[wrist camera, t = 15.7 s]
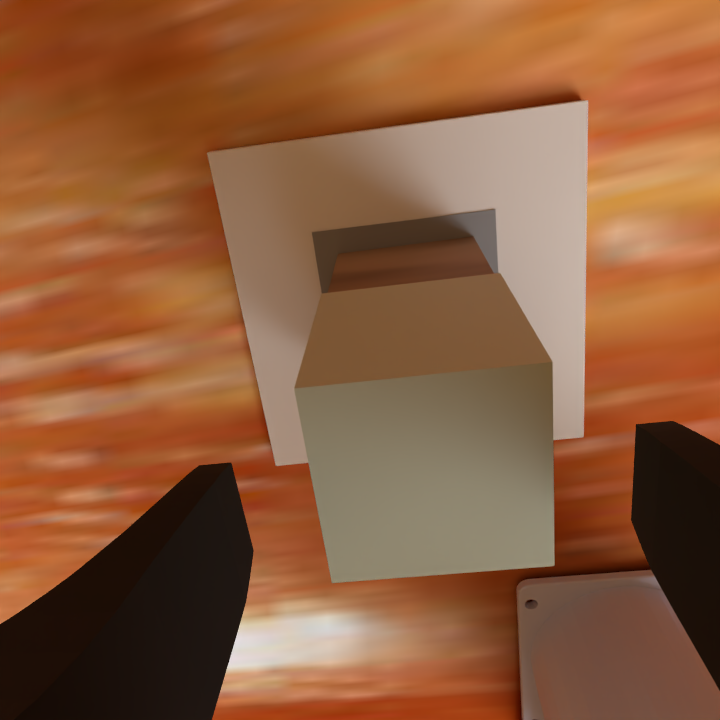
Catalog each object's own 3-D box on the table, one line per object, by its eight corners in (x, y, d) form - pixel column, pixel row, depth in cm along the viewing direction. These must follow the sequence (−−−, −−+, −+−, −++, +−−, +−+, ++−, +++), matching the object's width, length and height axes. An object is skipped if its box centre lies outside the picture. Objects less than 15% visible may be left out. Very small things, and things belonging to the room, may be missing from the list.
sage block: (506, 429, 16) (554, 566, 12) (346, 444, 17) (331, 583, 12) (499, 272, 15) (552, 361, 10) (321, 293, 15) (293, 388, 10)
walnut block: (481, 360, 21) (508, 439, 16) (357, 374, 21) (349, 455, 17) (473, 236, 19) (500, 285, 15) (337, 253, 20) (324, 307, 15)
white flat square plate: (579, 430, 23) (584, 437, 22) (277, 458, 24) (275, 466, 23) (582, 99, 18) (588, 100, 18) (211, 151, 19) (206, 153, 19)
